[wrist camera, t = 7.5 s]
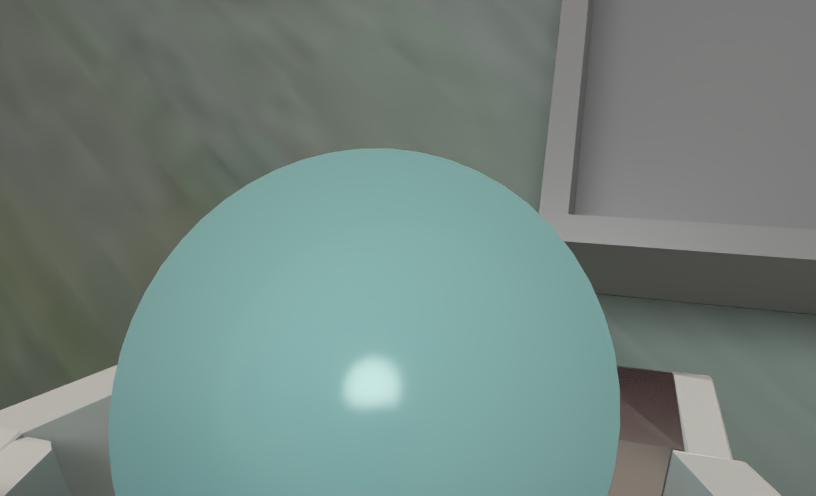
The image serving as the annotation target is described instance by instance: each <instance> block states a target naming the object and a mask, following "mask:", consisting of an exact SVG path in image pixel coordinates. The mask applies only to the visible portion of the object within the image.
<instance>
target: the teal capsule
mask: <svg viewBox="0 0 816 496" xmlns="http://www.w3.org/2000/svg"><path fill="white" fill-rule="evenodd" d="M619 433H620V387H619V379H618V372H617V365H616V357H615V351H614V347H613V344H612V340H611V336H610V333H609V329H608V325H607V322H606V318H605V315H604V313H603V310H602V308H601V306H600V303H599V301H598V299H597V296H596V294H595V292H594V289H593V287H592V285H591V282H590V281H589V279H588V277H587V276H586V274H585V272H584V271H583V269H582V267H581V266H580V264H579V262H578V261H577V259H576V257H575V255H574V254H573V252H572V251H571V250H570V249H569V247H568V246H567V245H566V244H565V242H564V241H563V240H562V238H561V237H560V236H559V235H558V233H557V232H556V231H555V230H554V228H553V227H552V226H551V225H550V224H549V223H548V222H547V221H546V220H545V219H544V218H543V217H542V216H541V215H540V214H539V213H538V212H536V211H535V210H534V209H533V208H532V207H531V206H530V205H529V204H528V203H527V202H525V201H524V200H523V199H521V198H520V197H519V196H517V195H516V194H514V193H513V192H512V191H510V190H509V189H508V188H506V187H505V186H504V185H502V184H500V183H498V182H497V181H495V180H493V179H491V178H489V177H487V176H486V175H484V174H482V173H480V172H478V171H477V170H474V169H472V168H469V167H467V166H464V165H461V164H459V163H456V162H454V161H451V160H449V159H445V158H441V157H437V156H433V155H429V154H425V153H421V152H415V151H407V150H398V149H389V148H385V149H354V150H346V151H338V152H331V153H327V154H323V155H319V156H315V157H311V158H307V159H303V160H300V161H298V162H295V163H293V164H290V165H287V166H285V167H282V168H279V169H277V170H274V171H273V172H271V173H269V174H267V175H265V176H263V177H261V178H259V179H257V180H255V181H253V182H251V183H249V184H248V185H246V186H245V187H243V188H242V189H240V190H239V191H237V192H236V193H234V194H233V195H231V196H230V197H228V198H227V199H225V200H224V201H223V202H222V203H220V204H219V205H218V206H217V207H216V208H214V209H213V210H212V211H211V212H210V213H208V214H207V215H206V216H205V217H204V218H202V219H201V220H200V221H199V222H198V223H197V224H196V226H195V227H194V228H193V229H192V230H191V231H190V232H189V233H188V234H187V235H186V236H185V237H184V238H183V239H182V240H181V241H180V242H179V244H178V245H177V246H176V248H175V249H174V250H173V251H172V253H171V254H170V255H169V257H168V258H167V259H166V260H165V262H164V263H163V264H162V266H161V267H160V269H159V271H158V272H157V274H156V275H155V277H154V279H153V280H152V282H151V283H150V285H149V287H148V288H147V290H146V292H145V294H144V296H143V298H142V300H141V302H140V304H139V306H138V308H137V310H136V312H135V314H134V316H133V318H132V321H131V323H130V326H129V329H128V332H127V335H126V337H125V340H124V343H123V346H122V349H121V352H120V356H119V360H118V365H117V369H116V373H115V377H114V381H113V389H112V397H111V404H110V412H109V455H110V465H111V475H112V483H113V487H114V492H115V496H607V495H608V491H609V487H610V484H611V480H612V477H613V473H614V469H615V462H616V455H617V447H618V440H619Z"/></svg>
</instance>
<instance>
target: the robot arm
mask: <svg viewBox="0 0 816 496" xmlns="http://www.w3.org/2000/svg"><path fill="white" fill-rule="evenodd" d="M116 369H117V365H116V366H113V367H111V368H108V369H106V370H103V371H100V372H98V373H95V374H93V375H90V376H88V377H85V378H82V379H80V380H77V381H75V382H72V383H70V384H67V385H64V386H62V387H59V388H57V389H54V390H51V391H49V392H46V393H44V394H41V395H39V396H36V397H33V398H31V399H28V400H26V401H23V402H21V403H18V404H15V405H13V406H10V407H8V408H5V409H3V410H0V496H115V492H114V487H113V483H112V475H111V465H110V455H109V412H110V404H111V397H112V389H113V381H114V377H115V373H116ZM617 372H618V379H619V387H620V433H619V440H618V447H617V455H616V462H615V469H614V473H613V477H612V480H611V484H610V487H609V491H608V495H607V496H782V495H781V494H779V493H778V492H777V491H776V490H775V489H774V488H773V487H772V486H771V485H770V484H769V483H768V482H766V481H765V480H764V479H763V478H762V477H761V476H760V475H759V474H758V473H757V472H756V471H755V470H753V469H752V468H751V467H750V466H749V465H748V464H747V463H746V462H742V461H736V460H733V457H732V453H731V449H730V445H729V441H728V437H727V433H726V429H725V425H724V421H723V417H722V413H721V409H720V405H719V401H718V397H717V393H716V389H715V385H714V381H713V379H712V378H711V377H710V376H709V375H701V374H691V373H682V372H672V371H671V372H663V371H655V370H647V369H639V368H632V367H624V366H617Z"/></svg>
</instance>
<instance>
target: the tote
mask: <svg viewBox="0 0 816 496" xmlns="http://www.w3.org/2000/svg"><path fill="white" fill-rule="evenodd" d="M539 214H540V215H541V216H542V217H543V218H544V219H545V220H546V221H547V222H548V223H549V224H550V225H551V226H552V227H553V228H554V230H555V231H556V232H557V233H558V235H559V236H560V237H561V238H562V240H563V241H564V242H565V244H566V245H567V246H568V247H569V249H570V250H571V251H572V252H573V254H574V255H575V257H576V259H577V261H578V262H579V264H580V266H581V267H582V269H583V271H584V272H585V274H586V276H587V277H588V279H589V281H590V282H591V285H592V287H593V289H594V292H595V293H596V294H607V295H617V296H628V297H638V298H648V299H659V300H669V301H680V302H690V303H700V304H711V305H721V306H732V307H742V308H752V309H763V310H773V311H784V312H794V313H804V314H815V315H816V0H562V7H561V16H560V25H559V34H558V43H557V52H556V61H555V71H554V80H553V89H552V98H551V107H550V116H549V125H548V135H547V144H546V153H545V162H544V171H543V180H542V189H541V199H540V208H539Z"/></svg>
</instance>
